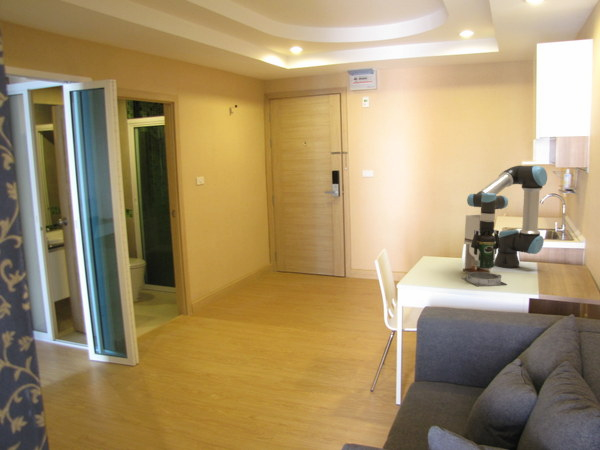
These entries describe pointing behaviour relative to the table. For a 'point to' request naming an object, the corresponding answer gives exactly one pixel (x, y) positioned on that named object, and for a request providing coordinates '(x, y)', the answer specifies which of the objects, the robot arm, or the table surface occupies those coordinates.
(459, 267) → the table surface
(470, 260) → the toilet paper holder
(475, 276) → the duct collar
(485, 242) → the coffee jar
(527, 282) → the table surface
